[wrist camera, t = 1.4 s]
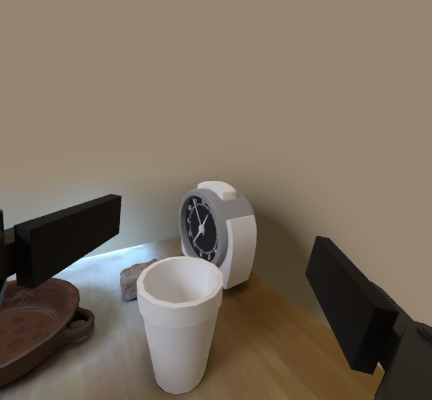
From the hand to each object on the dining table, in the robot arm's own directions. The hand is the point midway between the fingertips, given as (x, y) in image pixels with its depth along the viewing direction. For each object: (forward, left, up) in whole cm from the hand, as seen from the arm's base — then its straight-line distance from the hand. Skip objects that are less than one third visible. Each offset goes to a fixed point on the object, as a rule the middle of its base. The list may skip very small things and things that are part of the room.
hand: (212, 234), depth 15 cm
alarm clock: (-6, -28, -22) cm, 36 cm away
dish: (+25, -15, -22) cm, 36 cm away
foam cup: (+2, -9, -22) cm, 24 cm away
